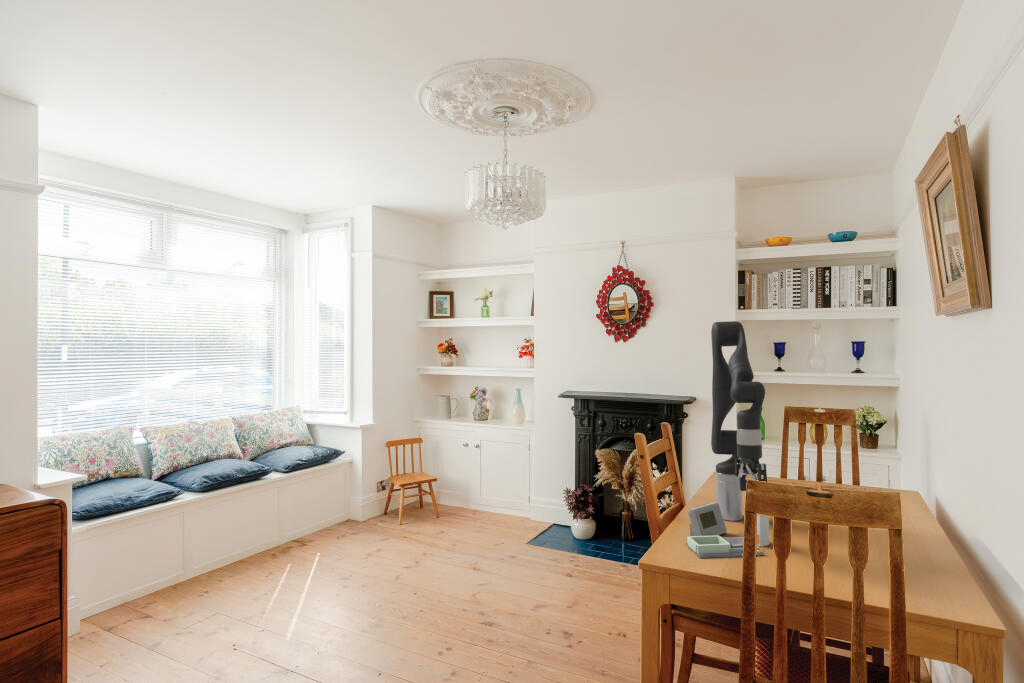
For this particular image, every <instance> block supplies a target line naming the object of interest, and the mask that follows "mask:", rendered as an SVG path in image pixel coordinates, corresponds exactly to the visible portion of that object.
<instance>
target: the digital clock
mask: <svg viewBox="0 0 1024 683" xmlns="http://www.w3.org/2000/svg"><path fill="white" fill-rule="evenodd" d="M687 513H688V517H689V522H690V524H689V536H714V535H719V536H720V535H722V536H723V535H725V534H726V533H727V531H728V530H727V526H726V523H725V520H724V519H723V516H722V513H721V510H720V507H719V504H718V503H717V502H716V501H712V502H708V503H707V502H706V503H704V504H700V505H697V506H695V507H692V508H689V509H688V511H687Z"/></svg>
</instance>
